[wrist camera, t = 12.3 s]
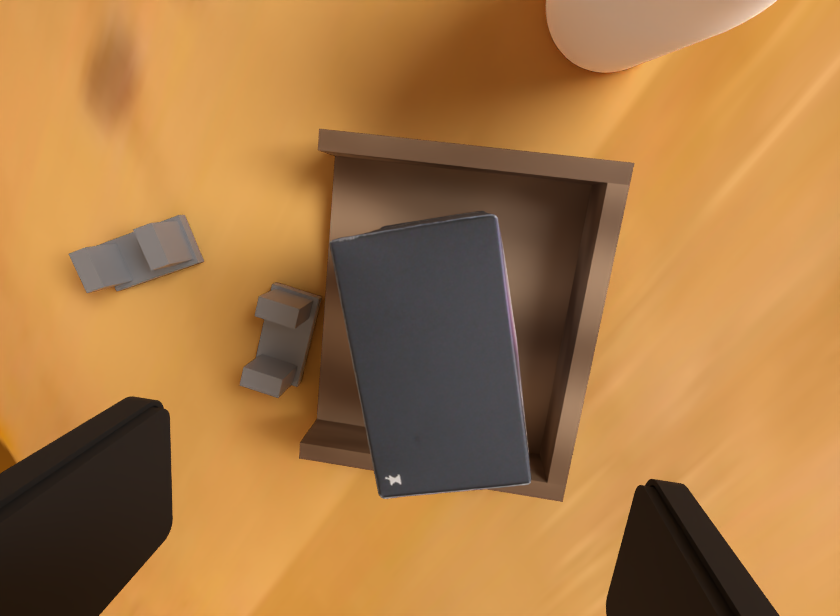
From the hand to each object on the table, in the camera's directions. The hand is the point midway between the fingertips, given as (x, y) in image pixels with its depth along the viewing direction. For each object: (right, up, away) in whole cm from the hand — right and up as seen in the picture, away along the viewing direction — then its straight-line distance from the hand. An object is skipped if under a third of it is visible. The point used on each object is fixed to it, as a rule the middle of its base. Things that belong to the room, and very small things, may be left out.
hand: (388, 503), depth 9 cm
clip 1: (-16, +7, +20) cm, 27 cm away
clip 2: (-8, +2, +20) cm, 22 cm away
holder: (+3, +4, +19) cm, 20 cm away
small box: (+2, +4, +18) cm, 19 cm away
